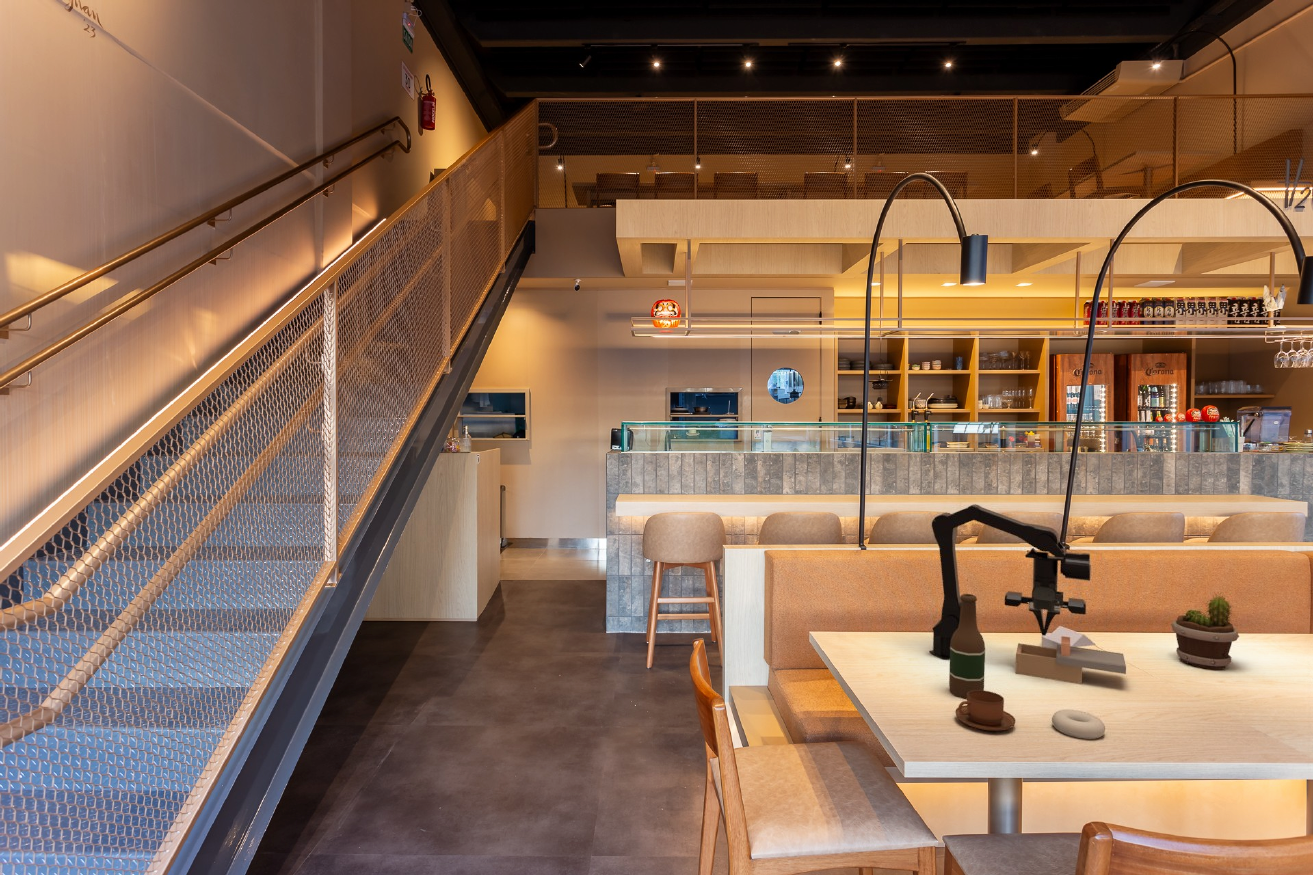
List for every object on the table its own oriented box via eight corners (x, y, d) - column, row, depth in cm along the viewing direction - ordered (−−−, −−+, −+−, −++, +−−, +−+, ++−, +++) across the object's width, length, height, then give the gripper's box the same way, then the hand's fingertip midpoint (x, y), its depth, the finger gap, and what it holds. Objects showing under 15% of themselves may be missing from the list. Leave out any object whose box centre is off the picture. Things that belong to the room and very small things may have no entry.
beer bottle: (982, 690, 183) (984, 592, 182) (985, 701, 176) (987, 600, 175) (948, 686, 186) (950, 590, 185) (949, 697, 178) (952, 597, 178)
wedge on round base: (1096, 656, 210) (1059, 642, 222) (1096, 633, 210) (1059, 620, 222) (1070, 659, 207) (1034, 645, 220) (1070, 635, 207) (1034, 622, 220)
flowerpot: (1179, 668, 200) (1181, 594, 199) (1164, 652, 214) (1166, 582, 214) (1245, 676, 195) (1248, 600, 194) (1226, 658, 209) (1228, 587, 208)
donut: (1070, 719, 167) (1041, 726, 162) (1071, 704, 167) (1041, 710, 162) (1115, 737, 158) (1085, 745, 153) (1116, 720, 158) (1086, 728, 153)
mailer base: (1015, 673, 195) (1016, 653, 195) (1017, 662, 204) (1018, 643, 204) (1081, 683, 188) (1082, 662, 188) (1081, 672, 197) (1081, 652, 197)
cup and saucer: (989, 740, 155) (990, 710, 155) (943, 719, 166) (943, 691, 166) (1027, 729, 161) (1028, 701, 161) (980, 709, 172) (981, 682, 171)
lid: (1056, 663, 190) (1056, 644, 190) (1056, 651, 200) (1057, 633, 200) (1125, 674, 183) (1126, 654, 183) (1122, 660, 193) (1123, 642, 193)
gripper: (1003, 577, 193) (1002, 637, 194) (1087, 586, 184) (1085, 649, 185) (1006, 569, 203) (1005, 627, 204) (1086, 577, 194) (1084, 637, 195)
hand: (1043, 635), depth 196 cm, fingers closed
